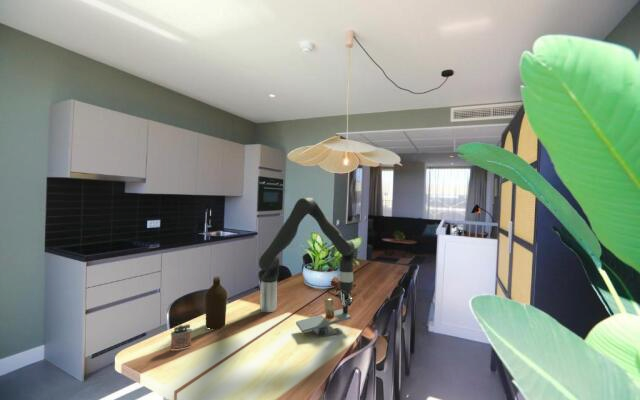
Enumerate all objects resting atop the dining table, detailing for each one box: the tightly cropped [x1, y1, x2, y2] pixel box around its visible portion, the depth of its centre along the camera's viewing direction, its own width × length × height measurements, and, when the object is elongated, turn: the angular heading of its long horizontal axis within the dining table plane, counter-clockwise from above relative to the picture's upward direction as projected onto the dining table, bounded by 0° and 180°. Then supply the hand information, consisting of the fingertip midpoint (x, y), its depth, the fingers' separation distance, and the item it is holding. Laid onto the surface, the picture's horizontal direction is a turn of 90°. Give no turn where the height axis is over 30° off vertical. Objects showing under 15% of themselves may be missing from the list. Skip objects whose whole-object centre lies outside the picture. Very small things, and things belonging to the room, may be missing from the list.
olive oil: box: [204, 275, 228, 330], centre depth 146 cm, size 11×11×25 cm
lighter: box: [170, 324, 193, 350], centre depth 124 cm, size 8×3×10 cm, turn 117°
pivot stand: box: [311, 325, 338, 339], centre depth 143 cm, size 10×12×5 cm
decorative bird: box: [330, 276, 357, 296], centre depth 202 cm, size 28×18×15 cm, turn 35°
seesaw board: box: [295, 308, 352, 334], centre depth 143 cm, size 26×10×1 cm, turn 113°
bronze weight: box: [323, 297, 335, 319], centre depth 145 cm, size 4×4×9 cm
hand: (345, 312), depth 148 cm, fingers closed
